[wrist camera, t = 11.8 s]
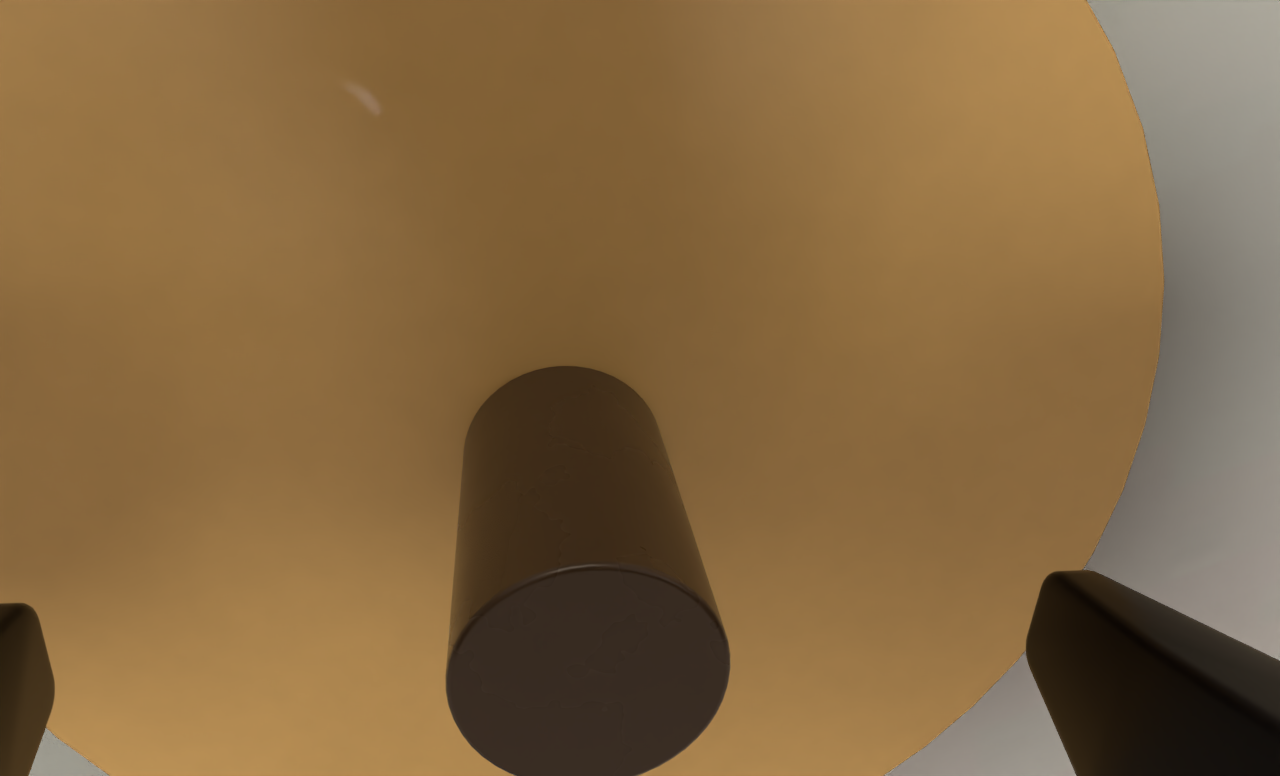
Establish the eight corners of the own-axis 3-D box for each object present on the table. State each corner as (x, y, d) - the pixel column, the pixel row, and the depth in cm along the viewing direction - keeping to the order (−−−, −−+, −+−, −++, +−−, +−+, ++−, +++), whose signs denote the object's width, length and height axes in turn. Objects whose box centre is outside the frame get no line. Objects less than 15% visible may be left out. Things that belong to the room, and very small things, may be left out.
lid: (-169, 718, 13) (-541, 1140, 8) (25, -664, 8) (-684, -1582, 3) (798, 897, 17) (905, 1242, 13) (1343, 86, 12) (1869, 168, 7)
